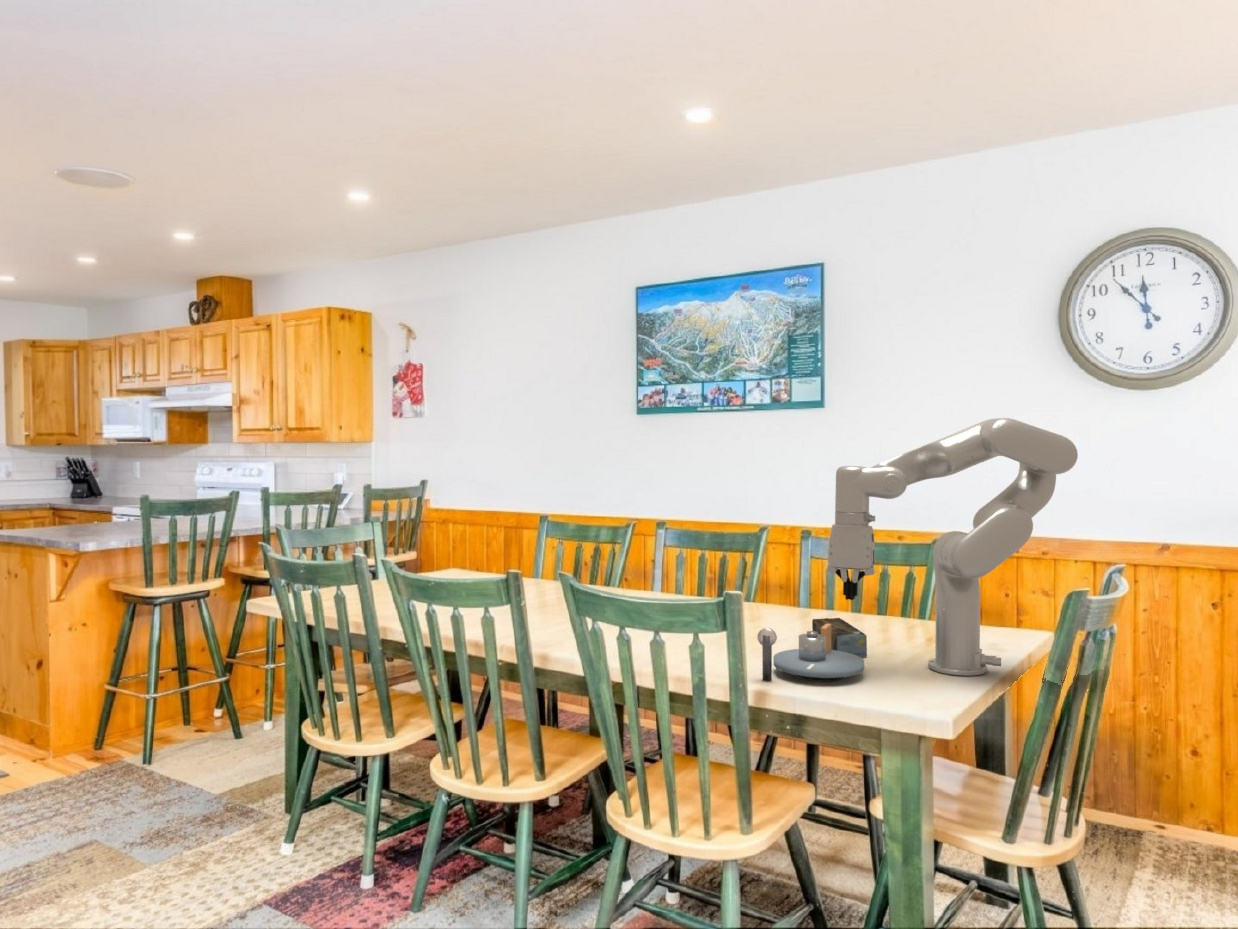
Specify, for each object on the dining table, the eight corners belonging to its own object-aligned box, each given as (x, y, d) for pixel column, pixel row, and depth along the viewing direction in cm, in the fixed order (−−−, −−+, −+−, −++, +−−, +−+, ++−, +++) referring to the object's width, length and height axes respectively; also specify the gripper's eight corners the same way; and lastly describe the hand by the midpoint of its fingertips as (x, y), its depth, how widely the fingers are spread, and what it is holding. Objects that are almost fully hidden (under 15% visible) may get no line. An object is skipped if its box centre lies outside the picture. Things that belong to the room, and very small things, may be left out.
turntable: (872, 659, 200) (872, 627, 200) (854, 682, 182) (854, 646, 182) (787, 651, 209) (787, 620, 209) (762, 671, 191) (762, 637, 191)
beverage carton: (835, 659, 209) (835, 632, 209) (810, 641, 228) (810, 617, 228) (867, 658, 209) (867, 631, 209) (840, 641, 229) (840, 616, 228)
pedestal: (850, 670, 198) (850, 663, 198) (839, 683, 187) (839, 676, 187) (798, 664, 204) (798, 658, 203) (785, 677, 193) (785, 670, 193)
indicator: (777, 680, 190) (777, 628, 190) (774, 682, 189) (774, 630, 188) (759, 678, 192) (759, 626, 192) (756, 680, 190) (756, 628, 190)
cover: (827, 656, 198) (827, 630, 197) (823, 663, 192) (823, 636, 192) (801, 654, 200) (801, 628, 200) (796, 660, 194) (796, 633, 194)
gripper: (887, 520, 199) (886, 599, 200) (822, 516, 206) (821, 593, 206) (882, 522, 193) (880, 604, 193) (815, 519, 199) (814, 598, 200)
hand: (850, 598), depth 200 cm, fingers closed
